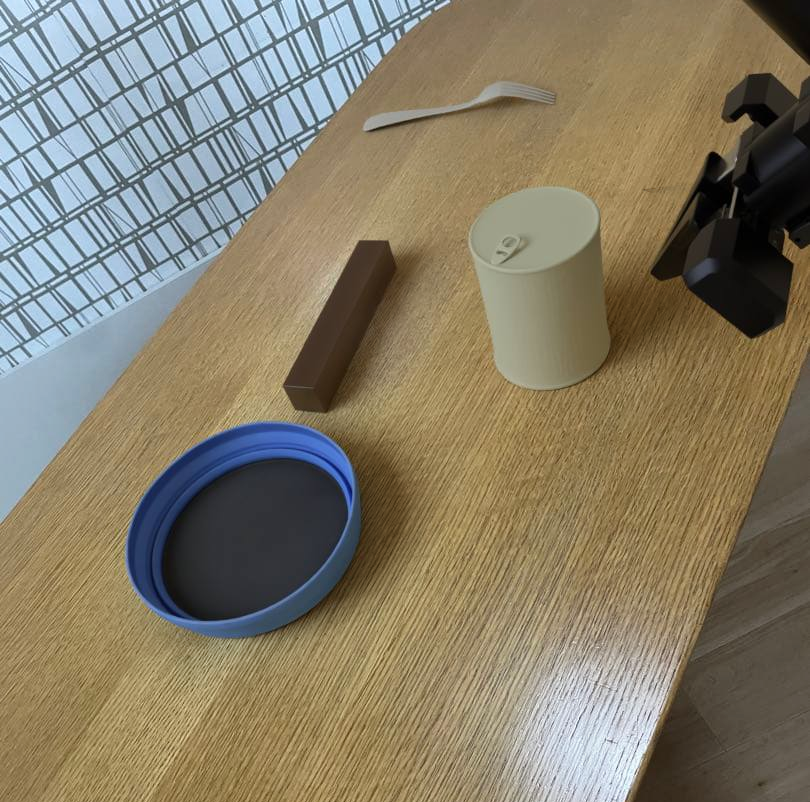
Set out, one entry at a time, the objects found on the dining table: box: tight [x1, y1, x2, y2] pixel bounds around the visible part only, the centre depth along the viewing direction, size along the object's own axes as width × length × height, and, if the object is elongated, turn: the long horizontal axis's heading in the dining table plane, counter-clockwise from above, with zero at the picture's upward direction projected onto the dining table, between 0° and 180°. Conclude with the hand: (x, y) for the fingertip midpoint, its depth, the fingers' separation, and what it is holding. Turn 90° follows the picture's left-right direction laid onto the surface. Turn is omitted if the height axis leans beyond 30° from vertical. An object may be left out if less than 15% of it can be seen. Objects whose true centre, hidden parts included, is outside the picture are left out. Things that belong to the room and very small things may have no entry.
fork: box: [362, 80, 556, 132], centre depth 90 cm, size 3×21×3 cm, turn 79°
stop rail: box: [282, 239, 397, 414], centre depth 73 cm, size 3×18×3 cm, turn 160°
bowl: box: [124, 420, 362, 639], centre depth 62 cm, size 18×18×4 cm
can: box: [468, 185, 612, 391], centre depth 62 cm, size 9×9×12 cm
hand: (655, 273), depth 58 cm, fingers closed
